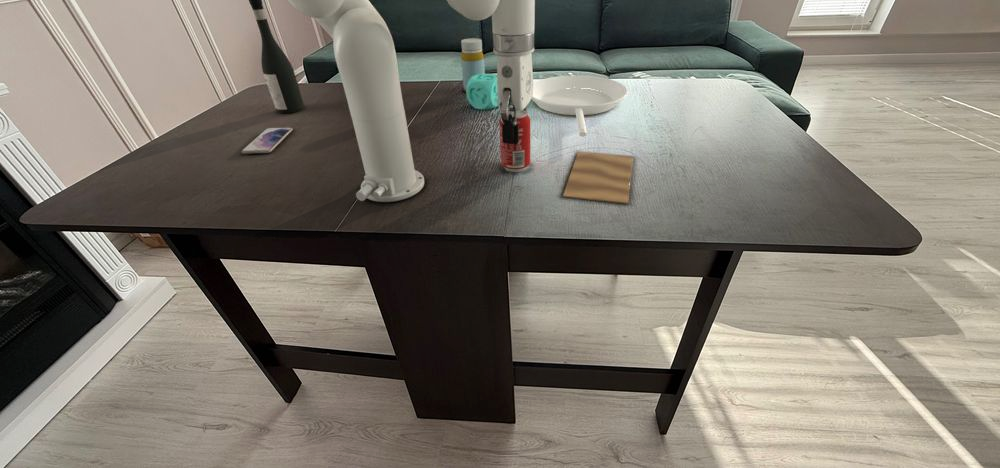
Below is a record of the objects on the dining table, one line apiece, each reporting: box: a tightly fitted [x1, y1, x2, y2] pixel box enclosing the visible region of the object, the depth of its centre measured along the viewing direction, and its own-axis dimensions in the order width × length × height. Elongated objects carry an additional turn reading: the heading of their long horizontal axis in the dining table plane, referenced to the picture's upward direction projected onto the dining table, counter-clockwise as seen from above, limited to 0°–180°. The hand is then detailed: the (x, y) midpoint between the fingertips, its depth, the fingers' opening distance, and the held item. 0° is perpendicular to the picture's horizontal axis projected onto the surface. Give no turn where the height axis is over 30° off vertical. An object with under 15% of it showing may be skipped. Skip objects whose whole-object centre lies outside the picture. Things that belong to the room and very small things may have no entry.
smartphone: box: [241, 126, 293, 155], centre depth 108 cm, size 7×1×15 cm
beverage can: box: [498, 109, 531, 173], centre depth 88 cm, size 6×6×12 cm
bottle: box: [460, 37, 486, 92], centre depth 133 cm, size 7×7×15 cm
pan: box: [531, 74, 629, 138], centre depth 116 cm, size 28×44×4 cm, turn 175°
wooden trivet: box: [562, 151, 634, 205], centre depth 87 cm, size 20×12×1 cm, turn 163°
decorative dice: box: [465, 73, 499, 111], centre depth 123 cm, size 8×8×8 cm
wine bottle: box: [248, 0, 305, 114], centre depth 119 cm, size 8×8×30 cm
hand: (515, 135), depth 87 cm, fingers closed on beverage can, 6 cm apart
